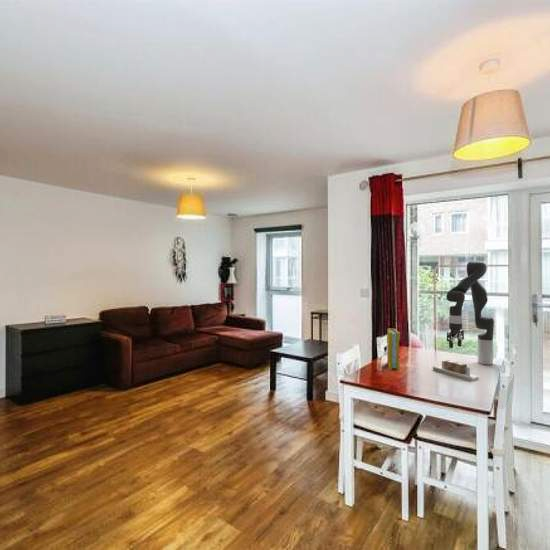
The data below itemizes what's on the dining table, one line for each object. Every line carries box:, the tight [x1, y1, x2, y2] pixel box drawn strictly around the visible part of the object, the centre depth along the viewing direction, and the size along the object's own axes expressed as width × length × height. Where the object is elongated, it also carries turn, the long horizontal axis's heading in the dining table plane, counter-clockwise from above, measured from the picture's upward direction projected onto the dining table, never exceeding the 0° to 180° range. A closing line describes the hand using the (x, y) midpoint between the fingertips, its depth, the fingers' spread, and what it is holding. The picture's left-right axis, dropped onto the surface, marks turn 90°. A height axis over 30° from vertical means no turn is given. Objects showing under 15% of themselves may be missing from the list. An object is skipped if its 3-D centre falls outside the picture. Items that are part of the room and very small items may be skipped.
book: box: [386, 327, 401, 371], centre depth 243 cm, size 17×7×25 cm, turn 168°
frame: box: [444, 359, 468, 374], centre depth 224 cm, size 12×5×6 cm, turn 29°
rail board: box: [432, 360, 479, 382], centre depth 224 cm, size 8×26×6 cm, turn 29°
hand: (455, 347), depth 224 cm, fingers open, 8 cm apart
